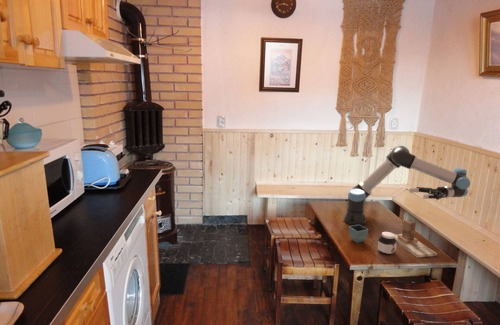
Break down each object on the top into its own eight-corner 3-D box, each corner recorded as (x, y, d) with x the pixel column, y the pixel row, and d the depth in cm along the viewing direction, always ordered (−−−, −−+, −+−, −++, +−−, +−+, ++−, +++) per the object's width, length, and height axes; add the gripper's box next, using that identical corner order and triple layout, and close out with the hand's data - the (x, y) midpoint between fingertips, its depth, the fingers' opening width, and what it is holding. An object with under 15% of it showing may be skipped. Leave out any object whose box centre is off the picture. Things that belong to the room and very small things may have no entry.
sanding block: (404, 243, 207) (407, 224, 204) (397, 238, 214) (399, 219, 211) (417, 242, 209) (420, 223, 206) (410, 237, 215) (412, 218, 212)
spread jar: (384, 256, 193) (386, 238, 191) (370, 248, 204) (372, 230, 201) (400, 253, 198) (402, 234, 196) (385, 244, 208) (387, 227, 206)
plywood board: (417, 257, 193) (417, 255, 193) (388, 236, 220) (388, 234, 219) (436, 255, 195) (437, 253, 195) (406, 235, 222) (406, 233, 222)
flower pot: (347, 239, 216) (348, 226, 214) (358, 237, 219) (359, 224, 217) (356, 245, 208) (357, 231, 206) (367, 242, 211) (368, 229, 209)
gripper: (458, 203, 213) (429, 205, 209) (430, 191, 237) (403, 193, 233) (460, 192, 211) (430, 193, 207) (431, 181, 235) (405, 182, 231)
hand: (416, 193), depth 220 cm, fingers open, 13 cm apart
